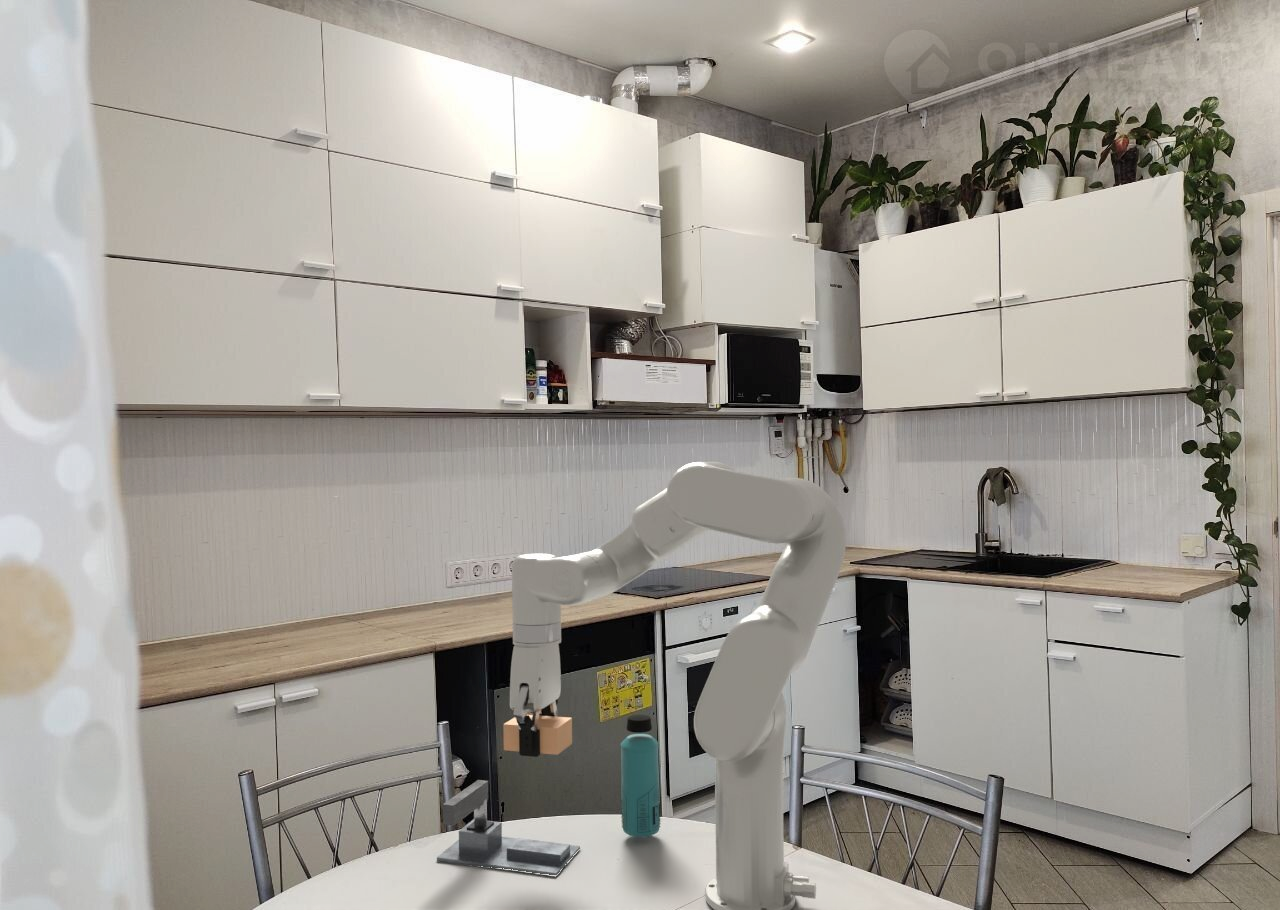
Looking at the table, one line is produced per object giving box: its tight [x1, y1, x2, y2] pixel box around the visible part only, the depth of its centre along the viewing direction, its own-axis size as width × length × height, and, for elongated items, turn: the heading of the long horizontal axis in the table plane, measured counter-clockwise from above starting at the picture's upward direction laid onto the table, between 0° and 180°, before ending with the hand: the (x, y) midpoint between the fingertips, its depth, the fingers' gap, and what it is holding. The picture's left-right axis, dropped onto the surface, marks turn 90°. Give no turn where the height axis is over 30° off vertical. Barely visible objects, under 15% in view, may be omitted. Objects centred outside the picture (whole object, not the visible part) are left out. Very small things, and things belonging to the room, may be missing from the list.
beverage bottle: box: [620, 714, 662, 838], centre depth 149 cm, size 6×7×20 cm
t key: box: [442, 779, 489, 827], centre depth 140 cm, size 11×2×6 cm, turn 162°
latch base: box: [436, 818, 581, 875], centre depth 143 cm, size 20×10×4 cm, turn 73°
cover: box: [502, 714, 573, 756], centre depth 142 cm, size 9×6×4 cm, turn 73°
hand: (538, 747), depth 142 cm, fingers closed on cover, 6 cm apart
